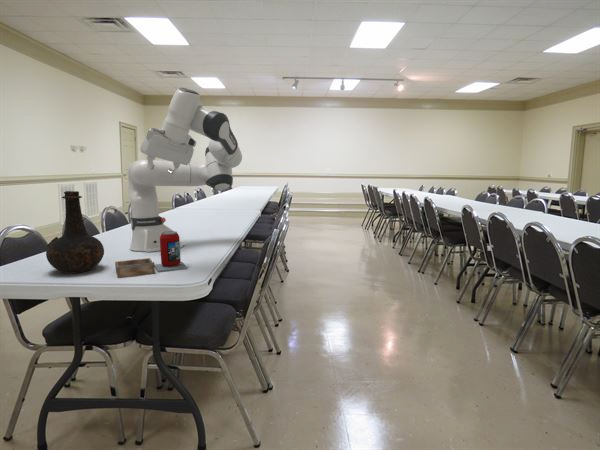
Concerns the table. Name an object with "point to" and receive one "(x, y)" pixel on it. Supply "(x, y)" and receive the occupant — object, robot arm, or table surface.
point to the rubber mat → (164, 268)
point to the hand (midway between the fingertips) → (160, 171)
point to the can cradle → (134, 267)
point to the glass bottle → (74, 241)
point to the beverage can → (170, 248)
